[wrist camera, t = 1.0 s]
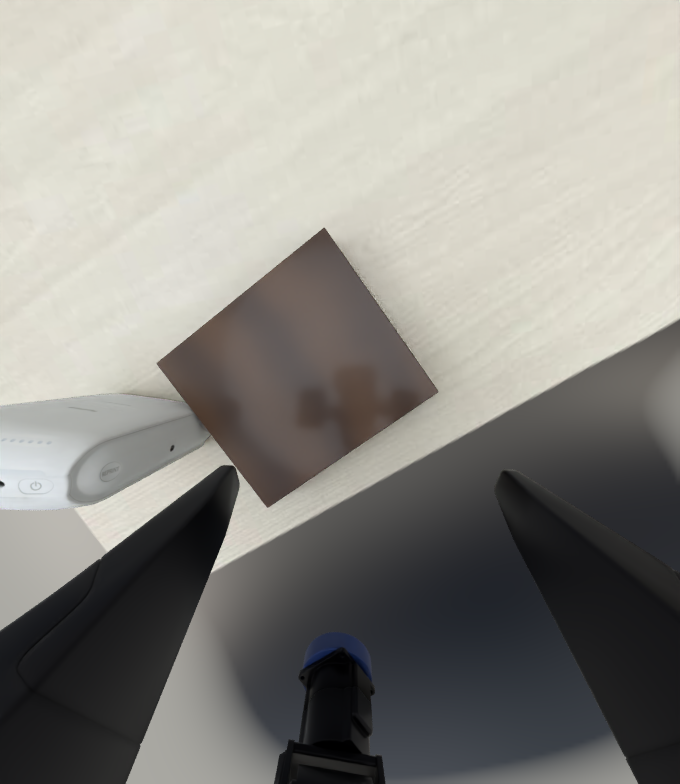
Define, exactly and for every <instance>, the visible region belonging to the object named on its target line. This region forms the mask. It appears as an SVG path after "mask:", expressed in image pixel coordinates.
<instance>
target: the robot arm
mask: <svg viewBox="0 0 680 784" xmlns="http://www.w3.org/2000/svg"><path fill="white" fill-rule="evenodd" d="M238 491H239V479H238V475H237V472H236V468H235V467H234V466H227V465H223V466H220V467H219V468H218V469H216V470H215V471H214V472H212V473H211V474H210V475H208V476H207V477H206V478H204V479H203V480H202V481H201V482H199V483H198V484H197V485H195V486H194V487H193V488H191V489H190V490H189V491H187V492H186V493H185V494H184V495H182V496H181V497H180V498H178V499H177V500H176V501H174V502H173V503H172V504H170V505H169V506H168V507H167V508H165V509H164V510H163V511H161V512H160V513H159V514H157V515H156V516H155V517H153V518H152V519H151V520H150V521H148V522H147V523H146V524H144V525H143V526H142V527H140V528H139V529H138V530H136V531H135V532H134V533H132V534H131V535H130V536H129V537H127V538H126V539H125V540H123V541H122V542H121V543H119V544H118V545H117V546H115V547H114V548H113V549H112V550H110V551H109V552H108V553H106V554H105V555H104V556H103V557H102V558H101V559H99V560H97V561H96V562H95V563H93V564H92V565H91V566H89V567H88V568H87V569H85V570H84V571H83V572H81V573H80V574H79V575H77V576H76V577H75V578H73V579H72V580H71V581H69V582H68V583H67V584H65V585H64V586H63V587H61V588H60V589H58V590H57V591H56V592H54V593H53V594H52V595H50V596H49V597H48V598H46V599H45V600H43V601H42V602H40V603H39V604H38V605H36V606H35V607H34V608H32V609H31V610H29V611H28V612H26V613H25V614H24V615H22V616H21V617H19V618H18V619H16V620H15V621H14V622H12V623H11V624H9V625H8V626H6V627H5V628H4V629H2V630H1V631H0V784H126V781H127V779H128V776H129V774H130V771H131V769H132V766H133V764H134V761H135V759H136V756H137V754H138V751H139V749H140V744H141V743H142V741H143V739H144V736H145V733H146V731H147V729H148V726H149V724H150V721H151V719H152V716H153V714H154V711H155V709H156V706H157V704H158V701H159V699H160V696H161V694H162V691H163V689H164V687H165V684H166V682H167V679H168V677H169V674H170V672H171V669H172V666H173V664H174V662H175V659H176V657H177V654H178V652H179V649H180V647H181V644H182V642H183V639H184V637H185V635H186V632H187V629H188V627H189V625H190V622H191V619H192V617H193V615H194V612H195V610H196V607H197V605H198V602H199V600H200V597H201V595H202V592H203V590H204V587H205V585H206V582H207V580H208V578H209V575H210V573H211V570H212V568H213V565H214V563H215V560H216V558H217V555H218V553H219V550H220V548H221V545H222V543H223V540H224V538H225V535H226V532H227V529H228V525H229V522H230V518H231V515H232V512H233V508H234V505H235V501H236V498H237V494H238ZM494 491H495V495H496V497H497V500H498V502H499V505H500V507H501V510H502V512H503V515H504V517H505V520H506V522H507V525H508V527H509V530H510V532H511V534H512V537H513V539H514V541H515V543H516V545H517V548H518V549H519V552H520V553H521V555H522V557H523V559H524V561H525V563H526V565H527V567H528V569H529V571H530V573H531V575H532V577H533V579H534V581H535V583H536V585H537V587H538V589H539V590H540V592H541V594H542V596H543V598H544V600H545V602H546V604H547V606H548V608H549V610H550V612H551V614H552V616H553V618H554V620H555V622H556V624H557V625H558V628H559V629H560V631H561V633H562V635H563V637H564V639H565V641H566V643H567V645H568V647H569V649H570V651H571V653H572V655H573V657H574V659H575V661H576V663H577V665H578V666H579V668H580V670H581V672H582V674H583V676H584V678H585V680H586V682H587V684H588V686H589V688H590V690H591V692H592V694H593V696H594V698H595V700H596V702H597V703H598V705H599V707H600V709H601V711H602V713H603V715H604V717H605V719H606V721H607V723H608V725H609V727H610V729H611V731H612V732H613V735H614V736H615V739H616V741H617V743H618V744H619V746H620V748H621V750H622V752H623V754H624V756H625V757H626V760H627V763H628V765H629V766H630V768H631V770H632V772H633V774H634V776H635V778H636V780H637V782H638V784H680V573H679V572H678V571H675V570H672V568H671V567H670V566H668V565H666V564H665V563H663V562H662V561H660V560H659V559H657V558H655V557H654V556H652V555H651V554H649V553H647V552H646V551H644V550H643V549H641V548H639V547H638V546H636V545H635V544H633V543H632V542H630V541H628V540H627V539H625V538H624V537H622V536H620V535H619V534H617V533H615V532H614V531H613V530H611V529H609V528H608V527H606V526H605V525H603V524H601V523H599V522H598V521H597V520H595V519H594V518H592V517H590V516H589V515H587V514H585V513H584V512H582V511H580V510H579V509H578V508H576V507H574V506H573V505H571V504H570V503H568V502H567V501H565V500H563V499H562V498H560V497H559V496H557V495H555V494H554V493H552V492H550V491H549V490H547V489H546V488H544V487H543V486H541V485H540V484H538V483H536V482H535V481H533V480H532V479H530V478H528V477H527V476H525V475H524V474H522V473H520V472H519V471H517V470H502V471H501V473H500V475H499V477H498V479H497V482H496V484H495V486H494ZM298 678H299V680H300V681H301V683H302V684H303V685H304V686H305V688H306V694H305V701H304V708H303V715H302V723H301V729H300V736H299V743H298V742H294V740H290V739H289V741H288V746H287V750H286V751H285V752H283V753H282V754H280V756H279V760H278V766H277V771H276V777H275V781H274V784H385V777H384V769H383V762H382V756H381V755H377V754H376V755H375V756H373V755H370V743H369V737H370V736H371V735H372V731H373V729H372V710H371V696H372V695H374V694H375V686H374V685H373V683H372V682H371V681H370V679H369V678H368V677H367V676H366V674H365V673H364V672H363V670H362V669H361V668H360V667H359V665H358V664H357V663H356V662H355V660H354V659H353V658H352V656H351V655H350V654H349V653H348V651H347V650H346V649H345V648H344V647H340V648H338V649H336V650H335V651H333V652H331V653H329V654H328V655H326V656H324V657H322V658H321V659H319V660H317V661H316V662H314V663H312V664H310V665H309V666H307V667H305V668H303V669H302V670H300V671H299V676H298Z"/></svg>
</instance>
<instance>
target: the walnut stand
mask: <svg viewBox="0 0 680 784" xmlns="http://www.w3.org/2000/svg"><path fill="white" fill-rule="evenodd" d="M157 365H158V366H159V368H160V369H161V370H162V372H163V373H164V374H165V375H166V377H167V378H168V379H169V381H170V382H171V383H172V385H173V386H174V387H175V388H176V390H177V391H178V392H179V394H180V395H181V396H182V397H183V399H184V400H185V401H186V403H187V404H188V405H189V407H190V408H191V409H192V410H193V412H194V413H195V414H196V416H197V417H198V418H199V420H200V421H201V422H202V423H203V425H204V426H205V427H206V429H207V430H208V431H209V433H210V434H211V435H212V436H213V438H214V439H215V440H216V442H217V443H218V444H219V446H220V447H221V448H222V449H223V451H224V452H225V453H226V455H227V456H228V457H229V459H230V460H231V461H232V462H233V464H234V465H235V466H236V468H237V469H238V470H239V471H240V473H241V474H242V475H243V477H244V478H245V479H246V481H247V482H248V483H249V484H250V486H251V487H252V488H253V490H254V491H255V492H256V494H257V495H258V496H259V497H260V499H261V500H262V501H263V503H264V504H265V505H266V507H267V508H268V507H270V506H271V505H273V504H274V503H276V502H277V501H279V500H280V499H282V498H283V497H284V496H286V495H287V494H289V493H290V492H292V491H293V490H295V489H296V488H298V487H299V486H301V485H302V484H304V483H305V482H307V481H308V480H310V479H311V478H312V477H314V476H315V475H317V474H318V473H320V472H321V471H323V470H324V469H326V468H327V467H329V466H330V465H332V464H333V463H335V462H336V461H338V460H339V459H340V458H342V457H343V456H345V455H346V454H348V453H349V452H351V451H352V450H354V449H355V448H357V447H358V446H360V445H361V444H363V443H364V442H366V441H367V440H368V439H370V438H371V437H373V436H374V435H376V434H377V433H379V432H380V431H382V430H383V429H385V428H386V427H388V426H389V425H391V424H392V423H394V422H395V421H396V420H398V419H399V418H401V417H402V416H404V415H405V414H407V413H408V412H410V411H411V410H413V409H414V408H416V407H417V406H419V405H420V404H422V403H423V402H424V401H426V400H427V399H429V398H430V397H432V396H433V395H435V394H436V393H438V390H437V389H436V387H435V386H434V384H433V383H432V381H431V380H430V379H429V377H428V376H427V374H426V373H425V371H424V370H423V368H422V367H421V366H420V364H419V363H418V361H417V360H416V358H415V357H414V356H413V354H412V353H411V351H410V350H409V348H408V347H407V345H406V344H405V343H404V341H403V340H402V338H401V337H400V335H399V334H398V333H397V331H396V330H395V328H394V327H393V325H392V324H391V322H390V321H389V320H388V318H387V317H386V315H385V314H384V312H383V311H382V309H381V308H380V307H379V305H378V304H377V302H376V301H375V299H374V298H373V297H372V295H371V294H370V292H369V291H368V289H367V288H366V286H365V285H364V284H363V282H362V281H361V279H360V278H359V276H358V275H357V274H356V272H355V271H354V269H353V268H352V266H351V265H350V263H349V262H348V261H347V259H346V258H345V256H344V255H343V253H342V252H341V251H340V249H339V248H338V246H337V245H336V243H335V242H334V240H333V239H332V238H331V236H330V235H329V233H328V232H327V230H326V229H325V228H323V229H322V230H321V231H319V232H318V233H317V234H316V235H314V236H313V237H312V238H311V239H310V240H308V241H307V242H306V243H305V244H303V245H302V246H301V247H300V248H298V249H297V250H296V251H295V252H293V253H292V254H291V255H290V256H289V257H287V258H286V259H285V260H284V261H282V262H281V263H280V264H279V265H277V266H276V267H275V268H274V269H272V270H271V271H270V272H269V273H268V274H266V275H265V276H264V277H263V278H261V279H260V280H259V281H258V282H256V283H255V284H254V285H253V286H251V287H250V288H249V289H248V290H247V291H245V292H244V293H243V294H242V295H240V296H239V297H238V298H237V299H235V300H234V301H233V302H232V303H230V304H229V305H228V306H227V307H226V308H224V309H223V310H222V311H221V312H219V313H218V314H217V315H216V316H214V317H213V318H212V319H211V320H209V321H208V322H207V323H206V324H205V325H203V326H202V327H201V328H200V329H198V330H197V331H196V332H195V333H193V334H192V335H191V336H190V337H188V338H187V339H186V340H185V341H184V342H182V343H181V344H180V345H179V346H177V347H176V348H175V349H174V350H172V351H171V352H170V353H169V354H167V355H166V356H165V357H164V358H163V359H161V360H160V361H159V362H158V363H157Z"/></svg>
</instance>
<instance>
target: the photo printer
mask: <svg viewBox="0 0 680 784" xmlns="http://www.w3.org/2000/svg"><path fill="white" fill-rule="evenodd" d="M209 436H210V433H209V431H208V430H207V429H206V427H205V426H204V425H203V423H202V422H201V421H200V420H199V418H198V417H197V416H196V414H195V413H194V412H193V410H192V409H191V408H190V407H189V405H188V404H187V403H184V402H179V401H173V400H167V399H160V398H154V397H146V396H138V395H129V394H99V395H90V396H81V397H72V398H64V399H55V400H46V401H37V402H29V403H20V404H12V405H3V406H0V509H9V510H10V509H11V510H55V509H67V508H75V507H82V506H88V505H92V504H95V503H98V502H101V501H103V500H105V499H107V498H109V497H111V496H113V495H114V494H116V493H118V492H120V491H121V490H123V489H125V488H127V487H129V486H131V485H132V484H134V483H136V482H138V481H140V480H142V479H143V478H145V477H147V476H149V475H151V474H153V473H154V472H156V471H158V470H160V469H162V468H164V467H165V466H167V465H169V464H171V463H173V462H175V461H176V460H178V459H180V458H182V457H184V456H186V455H188V454H190V453H191V452H193V451H195V450H197V449H199V448H200V447H202V446H203V445H204V441H205V440H206V439H208V437H209Z"/></svg>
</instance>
